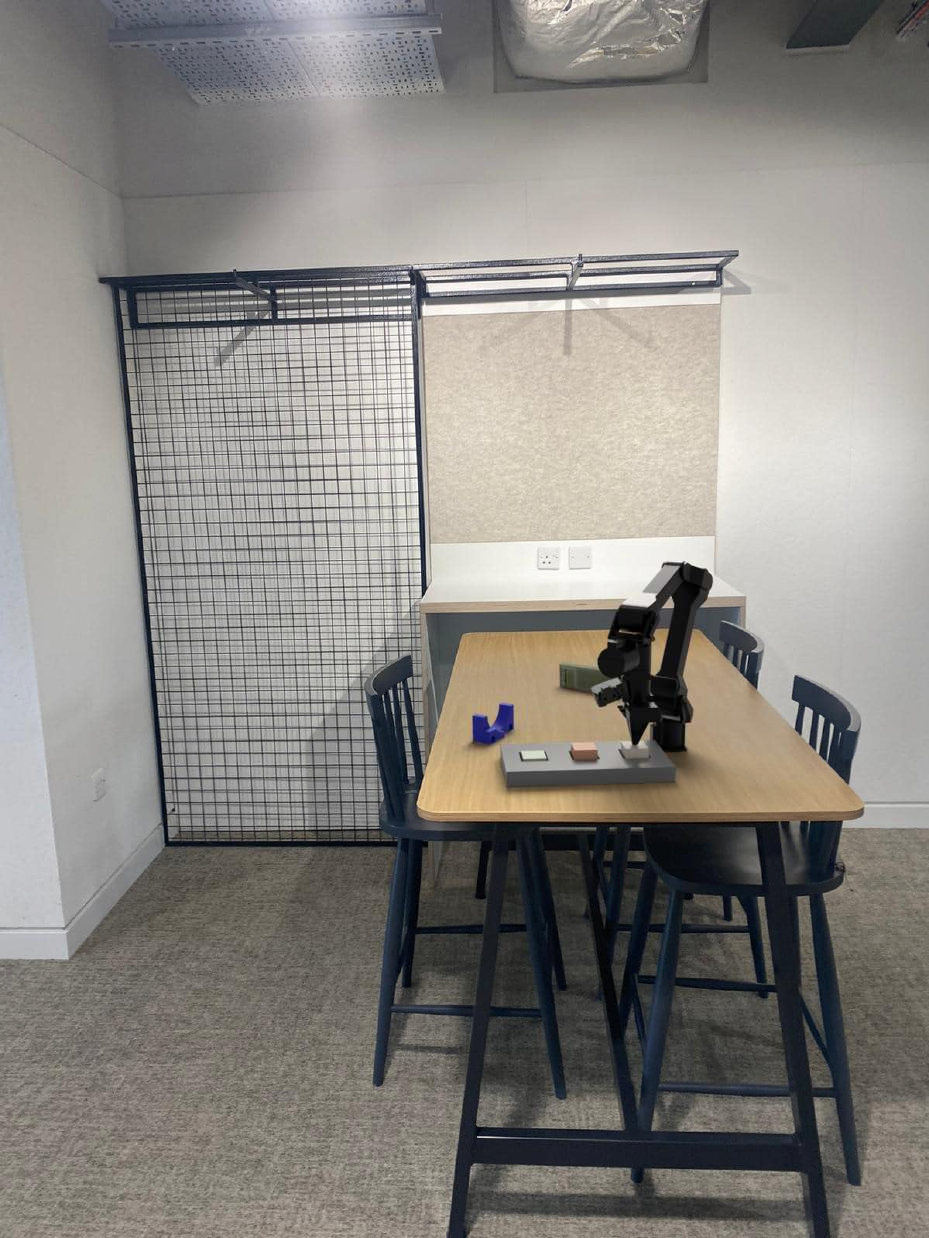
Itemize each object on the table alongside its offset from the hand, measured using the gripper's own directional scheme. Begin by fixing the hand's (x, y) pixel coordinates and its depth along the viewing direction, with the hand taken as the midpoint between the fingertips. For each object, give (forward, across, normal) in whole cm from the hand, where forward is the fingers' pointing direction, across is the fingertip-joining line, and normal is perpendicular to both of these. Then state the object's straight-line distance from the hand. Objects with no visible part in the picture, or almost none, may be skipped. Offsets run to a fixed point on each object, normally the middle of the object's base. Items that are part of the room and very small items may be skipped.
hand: (634, 744), depth 170 cm
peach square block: (+2, 0, -10) cm, 10 cm away
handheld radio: (+6, -56, +4) cm, 57 cm away
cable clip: (+5, -23, -26) cm, 35 cm away
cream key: (+2, 0, 0) cm, 2 cm away
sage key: (+3, 0, -20) cm, 20 cm away
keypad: (+5, 0, -10) cm, 11 cm away
